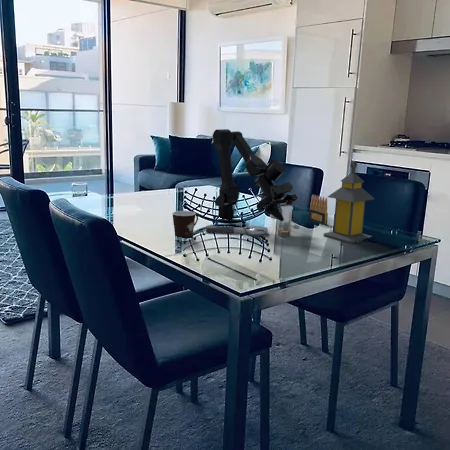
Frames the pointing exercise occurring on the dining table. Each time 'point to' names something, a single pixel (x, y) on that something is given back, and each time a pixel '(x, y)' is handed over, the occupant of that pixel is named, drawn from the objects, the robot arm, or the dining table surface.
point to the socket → (285, 220)
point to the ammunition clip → (318, 210)
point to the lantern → (349, 209)
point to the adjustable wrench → (291, 223)
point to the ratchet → (239, 230)
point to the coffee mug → (184, 223)
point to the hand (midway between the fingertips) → (287, 219)
